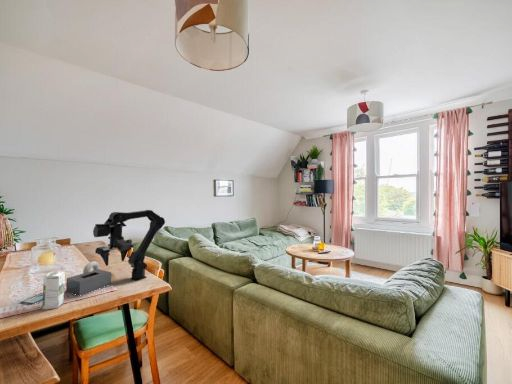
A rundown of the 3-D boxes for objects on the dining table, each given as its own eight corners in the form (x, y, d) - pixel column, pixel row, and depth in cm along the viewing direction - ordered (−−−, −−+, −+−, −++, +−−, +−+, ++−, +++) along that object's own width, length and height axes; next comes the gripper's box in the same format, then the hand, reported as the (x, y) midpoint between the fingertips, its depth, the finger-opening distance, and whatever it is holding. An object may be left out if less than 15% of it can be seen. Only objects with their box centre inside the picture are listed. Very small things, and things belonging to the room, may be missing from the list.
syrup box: (48, 304, 107) (49, 272, 107) (64, 302, 109) (65, 271, 109) (41, 310, 102) (42, 276, 102) (58, 308, 104) (59, 275, 104)
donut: (86, 282, 133) (86, 264, 133) (81, 281, 134) (81, 263, 134) (100, 276, 143) (101, 259, 143) (96, 275, 144) (96, 259, 144)
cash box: (97, 281, 135) (98, 269, 135) (110, 285, 130) (111, 272, 130) (66, 291, 120) (66, 278, 120) (79, 296, 116) (79, 282, 116)
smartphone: (18, 302, 107) (51, 288, 122) (18, 304, 107) (51, 290, 122) (32, 304, 106) (63, 290, 121) (32, 306, 106) (63, 291, 121)
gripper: (109, 239, 119) (108, 270, 119) (140, 233, 136) (139, 261, 136) (95, 237, 123) (94, 267, 123) (127, 232, 141) (126, 258, 141)
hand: (115, 263), depth 131 cm, fingers open, 9 cm apart
